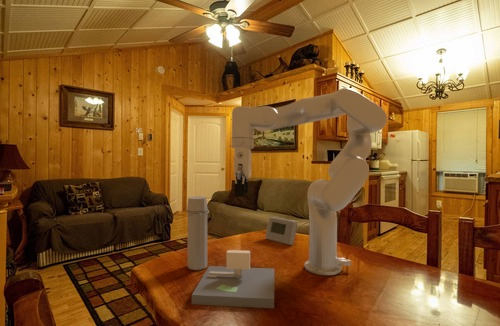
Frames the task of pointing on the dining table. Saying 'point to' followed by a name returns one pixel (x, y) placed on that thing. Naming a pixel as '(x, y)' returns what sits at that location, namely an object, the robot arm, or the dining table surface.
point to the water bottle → (197, 232)
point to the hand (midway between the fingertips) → (241, 194)
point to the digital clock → (281, 230)
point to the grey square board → (236, 288)
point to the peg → (235, 264)
